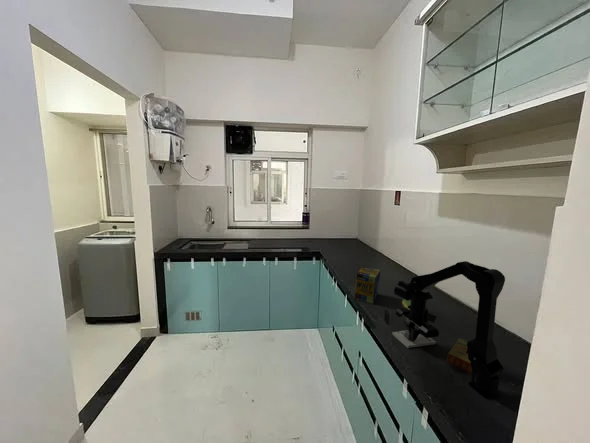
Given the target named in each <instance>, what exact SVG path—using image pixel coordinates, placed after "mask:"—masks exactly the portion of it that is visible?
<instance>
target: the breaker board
mask: <svg viewBox="0 0 590 443" xmlns="http://www.w3.org/2000/svg"><path fill="white" fill-rule="evenodd" d="M405 331H408V329H407V330H406V329H405V330H400V331H399V330H398V331H392V336H393V337H395V339H397V340H398V341H399V342H400V343H402V344H403V345H404V346H405V347H406V348H407V349H410V348H411V349H412V348H417V347H423V346H424V347H425V346H430V345H431V346H432V345H436V344H437V341H435V339H433V337H431V338H426V337H424V336H423V335H422V334H419V335H418V337H417V338H416V340H415V341H412V340H408V339H407V338H406V337H404V335H405Z"/></svg>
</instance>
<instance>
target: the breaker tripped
mask: <svg viewBox="0 0 590 443" xmlns="http://www.w3.org/2000/svg"><path fill="white" fill-rule="evenodd" d="M404 331H405V335H404V337H406V338H407V339H408V340H411V337H410V334H409V331H406V330H404Z"/></svg>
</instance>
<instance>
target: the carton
mask: <svg viewBox="0 0 590 443" xmlns="http://www.w3.org/2000/svg"><path fill="white" fill-rule="evenodd" d="M468 341H469V340H468ZM468 341H467V340H466V339H463V338H458V340H457V341H456V342H455V344H454V345H453V346H452V348H451V349H450V351H449V352H448V353H447V356H446V363H448V364H449V365H451V366H454V367H456V368H458V369H460V370H462V371H465V373H468V374H472V367H471V362H470V361H469V359H468V354H466V352H467V342H468Z"/></svg>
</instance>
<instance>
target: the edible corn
mask: <svg viewBox="0 0 590 443" xmlns="http://www.w3.org/2000/svg"><path fill="white" fill-rule="evenodd" d="M400 303H401V306H402V308H408V306H409V305H411V299H410V300H409V301H407V300H405V299H403V298H402V300H401V301H400ZM408 309H409V308H408ZM409 310H410V309H409Z"/></svg>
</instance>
